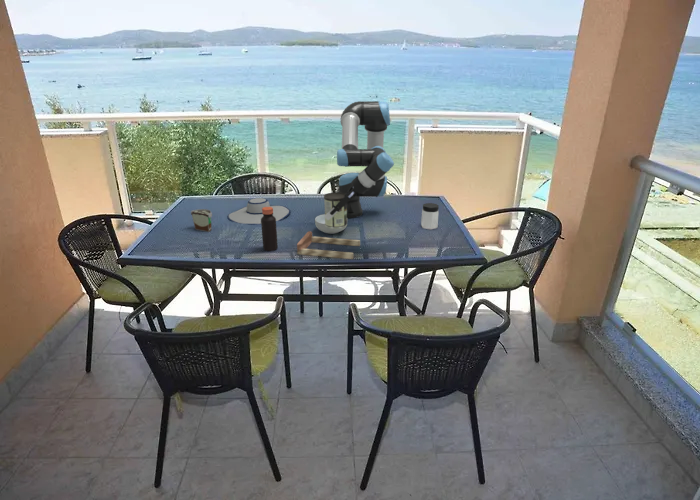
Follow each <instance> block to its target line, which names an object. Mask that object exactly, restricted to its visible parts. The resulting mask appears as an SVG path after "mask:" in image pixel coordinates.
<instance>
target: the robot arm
mask: <svg viewBox="0 0 700 500" xmlns="http://www.w3.org/2000/svg"><path fill="white" fill-rule="evenodd" d="M340 125H341V128H342V129H341V130H342V131H341V132H342V133H341V149H340V148H339V149H337V151H336V162H337V163H336V164H337V166H338V167H365V168H364V169H363V170H361V171H360V172H350V173H345V174H342V175H341V176H340V177H339V179H338V182H339V183H338V186H339V188H338V189H339V190H338V192H339V193H344V194H345V195H344V198H343V199H342V200H341V201H340V202H339V203H338V204H337V205H336V206H334V205H333V208H332V209H331V210H330V211H329V212H328V213H327V214H326V215H325V216H324V217H325V218H326V219H327V220H329V219H331V218H332V217H333V216H334V215H335V214H336V213H337V212H339V210H340V209H341V208H342V207H343V206H344V205H345V204H347V219H354V218H358V217H361V216H363V213H364V210H363V208H362V204H361V200H360V198H362V197H363V198H370V197H371V198H373V197H374V198H379V197H380V198H382V197H384V196H385V195H386V192H387V191H386V190H387V184H388V177H387V176H386V175H385V174H387V173H388V172H389V171H390V170H391V169H392V168H393V167H394V164H395V163H394V159H393V158H392V157H391V156H390V155H389V153H387V152H386V150H385V149H384V138H385V136H384V135H385V132H386V130H388V126H391V118H390V107H389V104H388V102H387V101H380V100H377V101H372V100H371V101H368V100H365V101H361V100H360V101H354V102H352V103H350V104H349V105H348V106H346V107H345V108H344V110H343V111H342V113H341V115H340ZM359 126H364V130H365V131H366V132H367V133H366V134H367V135H366V136H367V137H366V139H367V141H366V143H367V144H366V148H365V149H364V148H361V149H359Z"/></svg>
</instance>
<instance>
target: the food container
mask: <svg viewBox="0 0 700 500" xmlns="http://www.w3.org/2000/svg"><path fill="white" fill-rule="evenodd" d="M190 215H191V218H192V221H193V226H194V229H195V230H197V231H203V232H206V233H209V232H211V231H212V217H213V213H212V211H211V210H210V209H207V208H206V209H205V208H202V209H201V208H199V209H193V210H190Z"/></svg>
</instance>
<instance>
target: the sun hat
mask: <svg viewBox="0 0 700 500" xmlns="http://www.w3.org/2000/svg"><path fill="white" fill-rule="evenodd" d="M264 207H272V208H273V216H274V217H275V218H276V222H281V221H282V220H284V219H285V218H287V217H288V216H289V215H290V214H291V212H292V211H291V209H290V208H288V207H287V206H284V205H271V204H270V202H269V200H268V199H267V198H264V197H255V198H251V199H249V200H248V201H247V205H246V206H244V207H243V208H241V209H238V210H235V211H233V212H231V213H229V214H228V215H227V216H226V217H227V220H228V221H229V222H231V223H236V224H237V223H238V224H243V225H249V226H252V225H253V226H255V225H260V224H261V218H262V217H263V213H262V208H264Z"/></svg>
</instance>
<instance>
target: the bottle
mask: <svg viewBox="0 0 700 500" xmlns="http://www.w3.org/2000/svg"><path fill="white" fill-rule="evenodd" d="M262 213H263V217H262V218H261V235H262V236H261V238H262V248H263V250H264V251H265V252H266V251H267V252H273V251H276V250H278V248H279V247H278V243H279V242H278V232H277V221H276V218H275V217H274V216H273V208H272V207H264V208H262Z"/></svg>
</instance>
